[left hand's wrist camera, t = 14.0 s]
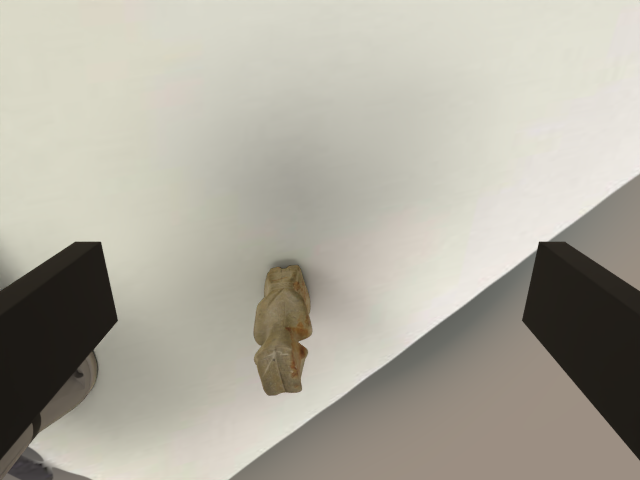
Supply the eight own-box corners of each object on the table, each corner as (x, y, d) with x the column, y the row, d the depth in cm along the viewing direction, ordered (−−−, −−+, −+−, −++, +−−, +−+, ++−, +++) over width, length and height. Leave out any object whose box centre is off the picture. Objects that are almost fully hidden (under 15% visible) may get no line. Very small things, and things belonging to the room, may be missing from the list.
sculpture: (268, 313, 50) (248, 404, 36) (260, 260, 47) (235, 336, 33) (316, 310, 49) (314, 400, 35) (310, 256, 47) (306, 331, 33)
